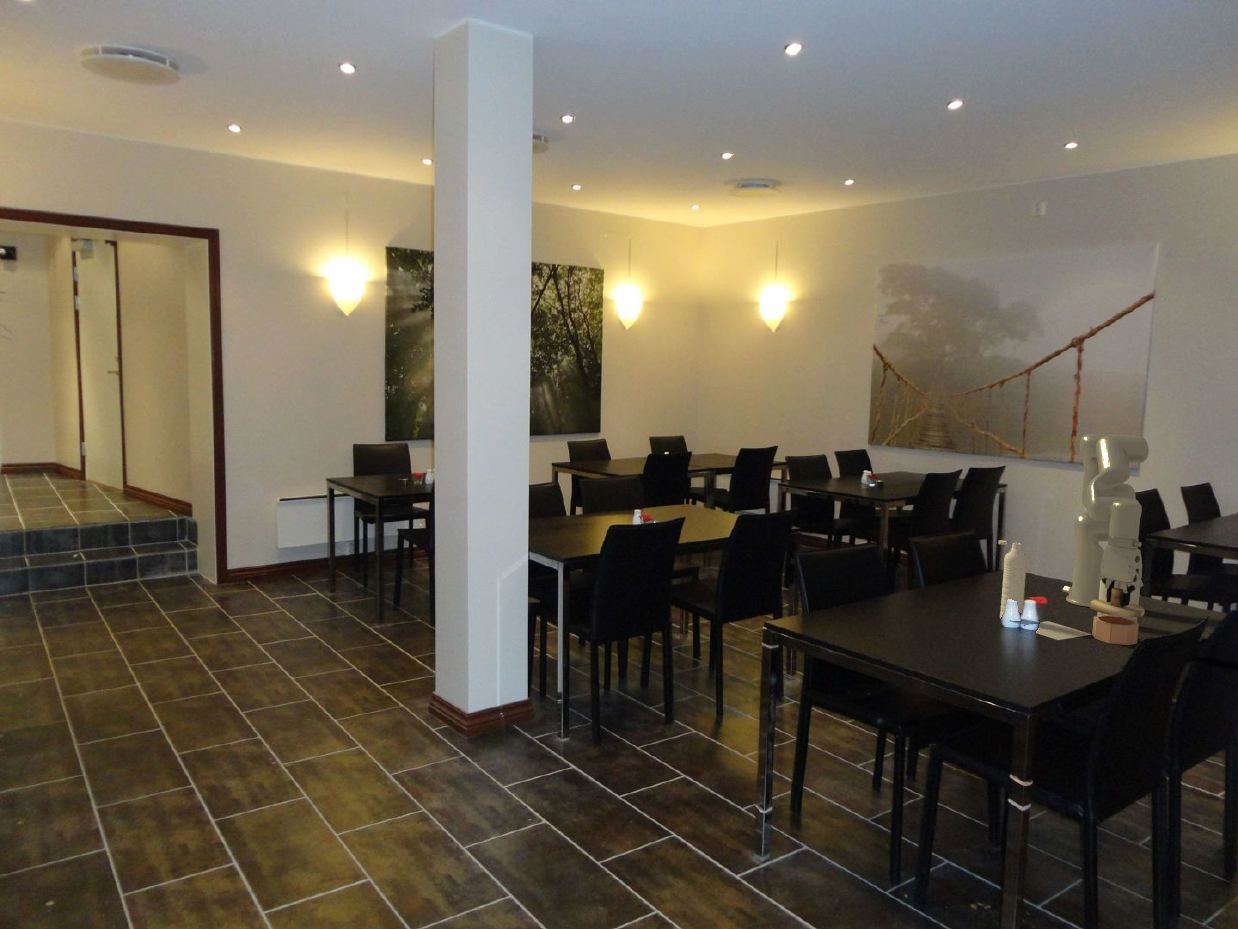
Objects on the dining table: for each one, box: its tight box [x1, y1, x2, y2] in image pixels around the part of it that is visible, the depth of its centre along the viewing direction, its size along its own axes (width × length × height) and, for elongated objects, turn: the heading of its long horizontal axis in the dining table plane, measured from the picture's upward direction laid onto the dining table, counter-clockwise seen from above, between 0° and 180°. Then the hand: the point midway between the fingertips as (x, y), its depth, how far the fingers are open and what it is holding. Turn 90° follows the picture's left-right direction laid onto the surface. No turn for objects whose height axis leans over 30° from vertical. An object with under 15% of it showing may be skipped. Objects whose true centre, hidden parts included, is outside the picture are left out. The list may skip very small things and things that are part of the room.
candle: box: [1096, 580, 1141, 623], centre depth 276 cm, size 11×7×20 cm, turn 50°
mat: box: [1035, 620, 1093, 641], centre depth 266 cm, size 15×15×1 cm
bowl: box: [1091, 615, 1140, 646], centre depth 259 cm, size 11×11×6 cm
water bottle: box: [998, 540, 1028, 619], centre depth 278 cm, size 9×6×25 cm
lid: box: [1089, 588, 1145, 618], centre depth 258 cm, size 14×14×6 cm
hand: (1117, 603), depth 258 cm, fingers closed on lid, 3 cm apart
